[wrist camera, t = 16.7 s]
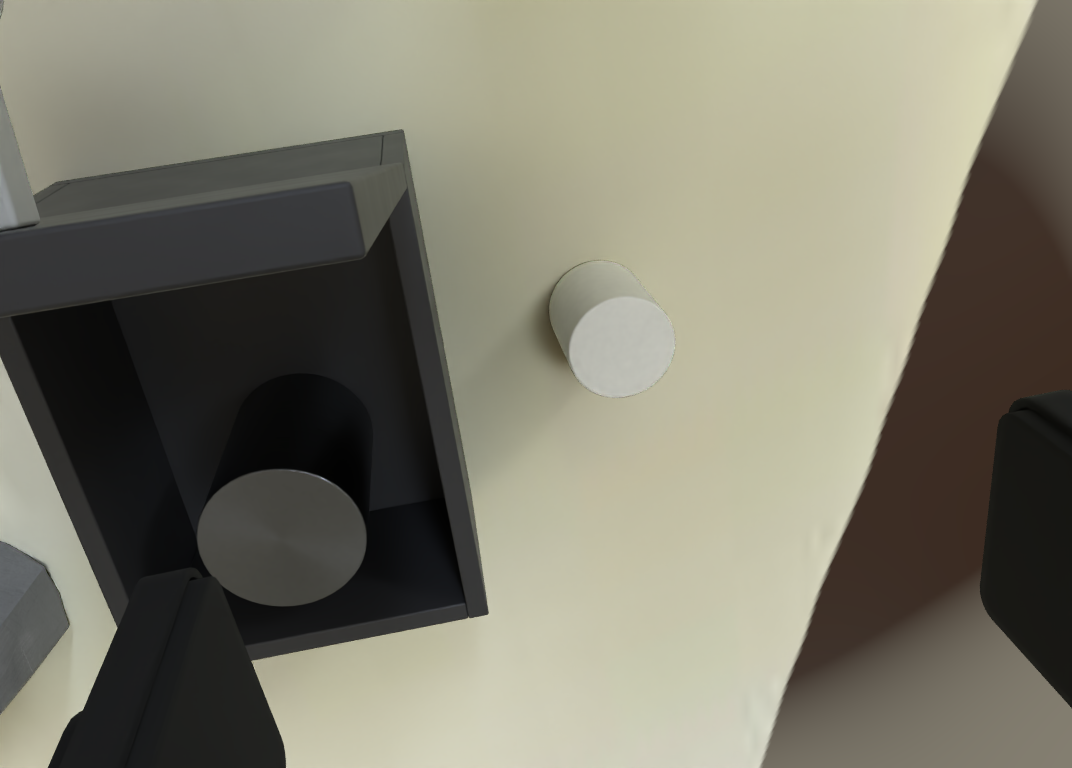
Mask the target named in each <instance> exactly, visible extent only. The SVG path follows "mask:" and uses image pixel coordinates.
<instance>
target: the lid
mask: <svg viewBox="0 0 1072 768" xmlns="http://www.w3.org/2000/svg"><path fill="white" fill-rule="evenodd" d="M3 5H4V0H0V18H1V15H2V11H3ZM406 189H407V183H406V178H405V172H404V167H403V163H401V162H399V163H393V164H386V165H380V166H373V167H367V168H360V169H354V170H347V171H341V172H334V173H328V174H321V175H315V176H309V177H302V178H296V179H289V180H283V181H276V182H270V183H263V184H257V185H250V186H244V187H237V188H231V189H225V190H218V191H212V192H205V193H199V194H192V195H186V196H179V197H173V198H166V199H160V200H153V201H147V202H140V203H134V204H128V205H121V206H115V207H108V208H102V209H95V210H89V211H82V212H76V213H69V214H63V215H56V216H50V217H43V218H40V217H39V213H38V210H37V207H36V203H35V200H34V197H33V193H32V190H31V187H30V183H29V180H28V177H27V173H26V170H25V167H24V163H23V160H22V157H21V153H20V150H19V147H18V144H17V140H16V137H15V134H14V130H13V127H12V124H11V120H10V117H9V114H8V110H7V107H6V104H5V100H4V97H3V94H2V90H1V87H0V318H4V317H10V316H16V315H22V314H28V313H35V312H41V311H47V310H53V309H59V308H65V307H71V306H78V305H84V304H90V303H96V302H102V301H108V300H114V299H121V298H127V297H133V296H139V295H145V294H151V293H157V292H164V291H170V290H176V289H182V288H188V287H194V286H200V285H207V284H213V283H219V282H225V281H231V280H237V279H243V278H250V277H256V276H262V275H268V274H274V273H280V272H287V271H293V270H299V269H305V268H311V267H317V266H323V265H330V264H336V263H342V262H348V261H354V260H360V259H362V258H364V257H365V256H366V254H367V253H368V251H369V249H370V248H371V246H372V245H373V243H374V241H375V240H376V238H377V236H378V235H379V233H380V231H381V230H382V228H383V226H384V225H385V223H386V221H387V220H388V218H389V217H390V215H391V213H392V212H393V210H394V208H395V207H396V205H397V203H398V202H399V200H400V198H401V197H402V195H403V193H404V192H405V190H406Z"/></svg>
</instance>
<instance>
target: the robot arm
mask: <svg viewBox="0 0 1072 768" xmlns="http://www.w3.org/2000/svg"><path fill="white" fill-rule="evenodd" d="M980 594H981V599H982V602H983V605H984V607H985V609H986V611H987V613H988V615H989V616H990V617H991V619H992V620H993V621H994V622H995V623H996V624H997V625H998V627H999V628H1000V629H1001V630H1002V631H1003V632H1004V633H1005V634H1006V635H1007V637H1008V638H1009V639H1010V640H1011V641H1012V642H1013V643H1014V644H1015V646H1016V647H1017V648H1018V649H1019V650H1020V651H1021V652H1022V653H1023V654H1024V655H1025V657H1026V658H1027V659H1028V660H1029V661H1030V662H1031V663H1032V664H1033V666H1035V668H1036V669H1037V670H1038V671H1039V672H1040V673H1041V674H1042V676H1043V677H1044V678H1045V679H1046V680H1047V681H1048V682H1049V683H1050V684H1051V686H1053V687H1054V689H1055V690H1056V691H1057V692H1058V693H1059V694H1060V695H1061V696H1062V698H1063V699H1064V700H1065V701H1066V702H1067V703H1068V704H1069V705H1070V707H1071V708H1072V391H1070V390H1059V391H1055V392H1049V393H1044V394H1039V395H1035V396H1030V397H1025V398H1020V399H1018V400H1016V401H1014V403H1013V404H1012V405H1011V407H1010V409H1009V413H1007V414H1005V415H1003V416H1002V417H1001V419H1000V420H999V424H998V429H997V439H996V447H995V456H994V466H993V474H992V483H991V492H990V501H989V511H988V519H987V528H986V537H985V546H984V554H983V563H982V572H981V581H980ZM48 768H286V758H285V750H284V745H283V741H282V738H281V735H280V733H279V730H278V728H277V725H276V723H275V720H274V718H273V715H272V713H271V710H270V708H269V705H268V703H267V700H266V697H265V695H264V692H263V690H262V687H261V685H260V682H259V680H258V677H257V675H256V672H255V670H254V667H253V665H252V662H251V660H250V657H249V655H248V652H247V650H246V647H245V645H244V642H243V640H242V637H241V635H240V632H239V630H238V627H237V625H236V622H235V620H234V617H233V615H232V612H231V609H230V607H229V604H228V602H227V599H226V597H225V594H224V592H223V589H222V587H221V585H220V583H219V581H218V580H217V578H216V577H213V576H211V577H206V578H203V577H202V575H201V573H200V572H199V571H198V570H197V569H196V568H192V567H191V568H186V569H181V570H176V571H171V572H166V573H161V574H156V575H151V576H147V577H143V578H141V579H140V580H139V581H138V583H137V584H136V586H135V588H134V591H133V593H132V596H131V598H130V600H129V603H128V605H127V607H126V610H125V612H124V614H123V617H122V619H121V622H120V624H119V626H118V629H117V631H116V633H115V636H114V638H113V640H112V643H111V645H110V648H109V650H108V652H107V655H106V657H105V659H104V662H103V664H102V666H101V669H100V671H99V674H98V676H97V678H96V681H95V683H94V685H93V688H92V690H91V693H90V695H89V697H88V700H87V702H86V704H85V707H84V709H83V711H81V712H79V713H78V714H77V715H75V716H74V717H73V718H71V720H70V722H69V723H68V725H67V727H66V728H65V730H64V732H63V734H62V736H61V739H60V741H59V743H58V746H57V748H56V750H55V753H54V755H53V757H52V759H51V762H50V764H49V766H48Z"/></svg>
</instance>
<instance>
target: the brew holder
mask: <svg viewBox="0 0 1072 768" xmlns="http://www.w3.org/2000/svg"><path fill="white" fill-rule="evenodd" d="M372 447H373V428H372V422H371V419H370V416H369V414H368V411H367V409H366V407H365V406H364V404H363V403H362V401H361V400H360V399H359V398H358V397H357V396H356V395H355V394H354V393H353V392H352V391H351V390H350V389H348V388H347V387H345V386H344V385H342V384H341V383H339V382H337V381H335V380H333V379H330V378H327V377H324V376H320V375H316V374H307V373H296V374H288V375H284V376H279V377H277V378H274V379H271V380H269V381H267V382H265V383H263V384H262V385H260V386H259V387H257V388H256V389H255V390H254V391H253V392H252V393H251V394H249V396H248V397H247V398H246V399H245V401H244V402H243V404H242V406H241V407H240V409H239V412H238V414H237V417H236V420H235V422H234V425H233V428H232V430H231V433H230V436H229V439H228V441H227V444H226V447H225V449H224V452H223V455H222V458H221V460H220V463H219V466H218V468H217V471H216V474H215V476H214V479H213V482H212V485H211V487H210V490H209V493H208V495H207V498H206V501H205V503H204V506H203V509H202V512H201V514H200V517H199V520H198V525H197V534H196V539H197V547H198V550H199V554H200V557H201V559H202V561H203V563H204V565H205V567H206V568H207V570H208V571H209V573H210V574H211V575H212V576H213V577H216V578H217V580H218V581H219V583H220V584H221V585H222V586H223V587H224V588H226V589H227V590H229V591H230V592H232V593H234V594H235V595H237V596H239V597H241V598H244V599H246V600H249V601H252V602H255V603H259V604H264V605H269V606H297V605H303V604H308V603H312V602H315V601H318V600H320V599H323V598H325V597H327V596H329V595H331V594H333V593H334V592H336V591H337V590H339V589H340V588H341V587H343V586H344V585H345V584H346V583H347V582H348V581H349V580H350V579H351V578H352V577H353V576H354V575H355V573H356V572H357V570H358V569H359V567H360V565H361V563H362V561H363V559H364V556H365V553H366V548H367V540H368V521H369V503H370V484H371V466H372Z"/></svg>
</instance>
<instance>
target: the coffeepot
mask: <svg viewBox="0 0 1072 768" xmlns="http://www.w3.org/2000/svg"><path fill="white" fill-rule="evenodd" d="M68 627H69V624H68V621H67V618H66V614H65V611H64V608H63V605H62V601H61V597H60V594H59V591H58V590H57V588H56V586H55V584H54V582H53V581H52V579H51V578H50V577H49V575H48V574H47V571H46V569H45V567H44V566H43V565H41V564H40V563H38V562H37V561H35V560H34V559H32V558H31V557H29V556H28V555H26V554H24V553H23V552H21V551H19V550H17V549H16V548H14V547H12V546H10V545H8V544H6V543H3V542H1V541H0V715H1V713H2V712H3V711H4V710H5V708H6V707H7V706H8V705H9V704H10V702H11V701H12V700H13V699H14V697H15V696H16V695H17V694H18V692H19V691H20V690H21V689H22V687H23V686H24V685H25V684H26V683H27V681H28V680H29V679H30V678H31V676H32V675H33V674H34V673H35V671H36V670H37V669H38V667H39V666H40V665H41V663H42V662H43V661H44V659H45V658H46V657H47V655H48V654H49V653H50V651H51V650H52V649H53V647H54V646H55V645H56V643H57V642H58V641H59V639H60V638H61V637H62V635H63V634H64V633H65V631H66V630H67V629H68Z"/></svg>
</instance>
